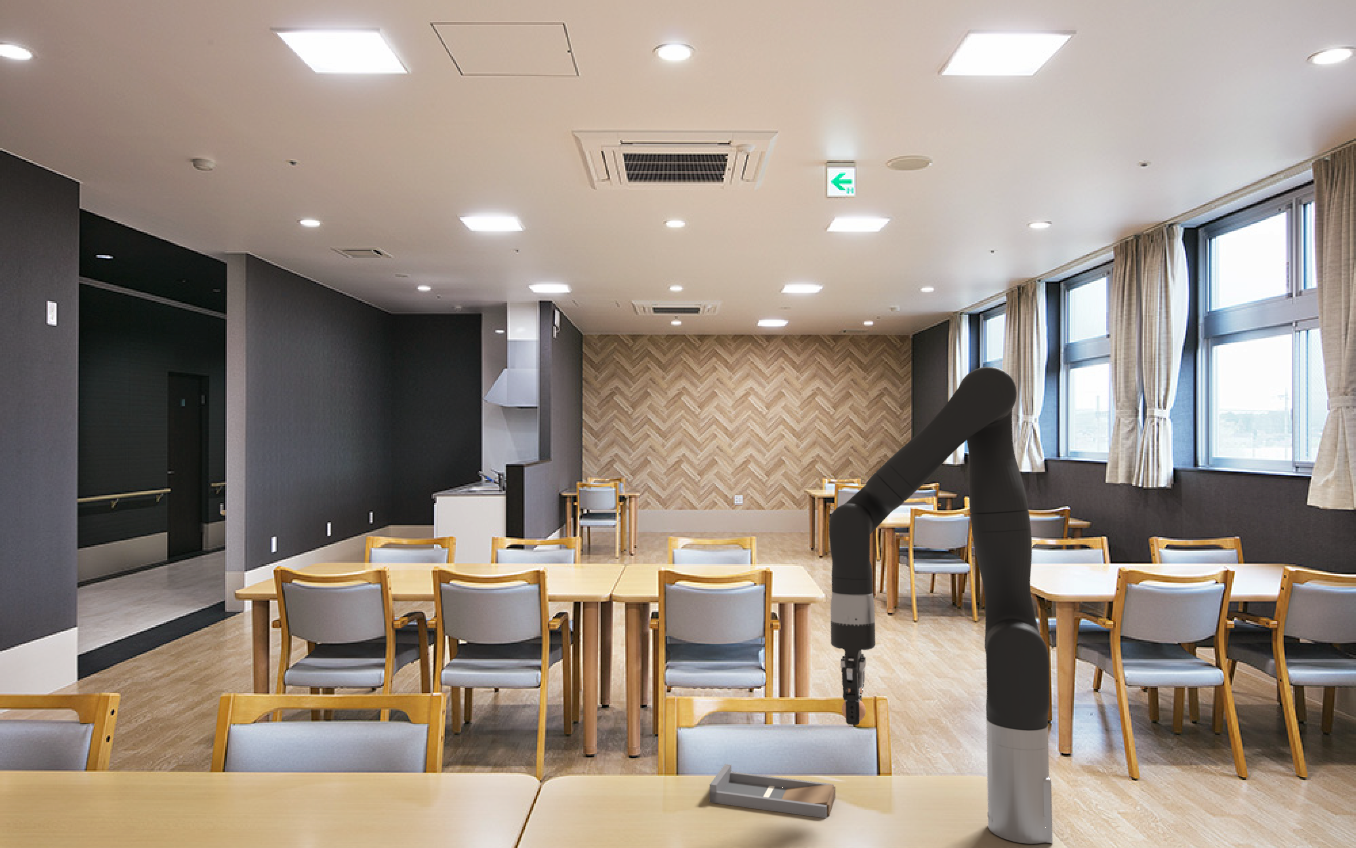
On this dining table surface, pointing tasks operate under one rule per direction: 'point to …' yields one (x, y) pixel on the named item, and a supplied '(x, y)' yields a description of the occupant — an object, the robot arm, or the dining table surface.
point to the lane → (761, 793)
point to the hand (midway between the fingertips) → (854, 720)
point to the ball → (861, 709)
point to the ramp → (812, 795)
